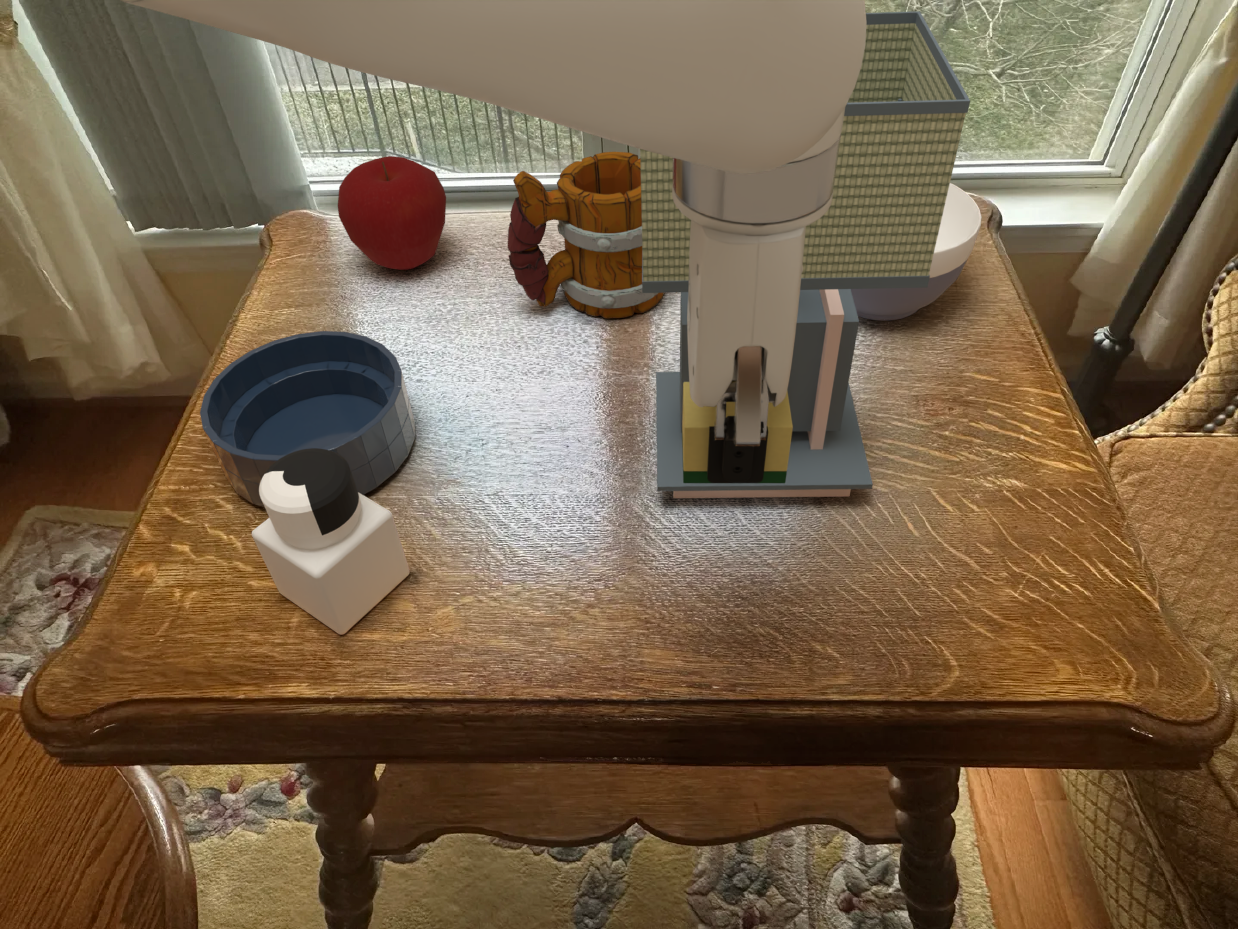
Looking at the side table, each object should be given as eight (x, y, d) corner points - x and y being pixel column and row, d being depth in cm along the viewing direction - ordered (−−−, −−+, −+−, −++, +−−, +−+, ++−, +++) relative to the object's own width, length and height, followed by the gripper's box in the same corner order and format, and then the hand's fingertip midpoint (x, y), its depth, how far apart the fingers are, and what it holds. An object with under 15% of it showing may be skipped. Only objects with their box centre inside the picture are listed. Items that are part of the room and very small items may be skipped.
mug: (687, 303, 95) (689, 164, 84) (533, 346, 91) (516, 206, 80) (644, 251, 102) (641, 117, 92) (500, 289, 98) (479, 153, 88)
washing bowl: (313, 546, 74) (289, 490, 69) (188, 465, 81) (159, 408, 76) (454, 430, 83) (442, 372, 78) (330, 365, 90) (312, 310, 85)
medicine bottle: (348, 533, 75) (307, 422, 66) (412, 573, 72) (378, 461, 63) (277, 593, 71) (224, 483, 62) (342, 638, 68) (295, 528, 59)
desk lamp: (850, 390, 85) (918, 9, 62) (878, 506, 75) (971, 103, 52) (647, 393, 85) (639, 18, 62) (647, 508, 75) (638, 112, 52)
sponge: (683, 483, 56) (684, 427, 52) (681, 437, 58) (683, 381, 55) (785, 483, 55) (793, 427, 52) (779, 437, 58) (786, 380, 55)
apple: (342, 288, 99) (312, 187, 91) (371, 234, 107) (346, 136, 98) (443, 291, 98) (422, 189, 90) (466, 236, 106) (449, 137, 97)
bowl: (790, 251, 101) (799, 168, 94) (941, 250, 100) (961, 166, 93) (805, 342, 90) (816, 256, 83) (975, 342, 89) (1000, 254, 82)
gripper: (670, 91, 50) (668, 364, 62) (674, 266, 38) (671, 559, 51) (814, 88, 49) (782, 363, 62) (863, 264, 37) (811, 559, 50)
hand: (732, 448), depth 56 cm, fingers closed on sponge, 4 cm apart
